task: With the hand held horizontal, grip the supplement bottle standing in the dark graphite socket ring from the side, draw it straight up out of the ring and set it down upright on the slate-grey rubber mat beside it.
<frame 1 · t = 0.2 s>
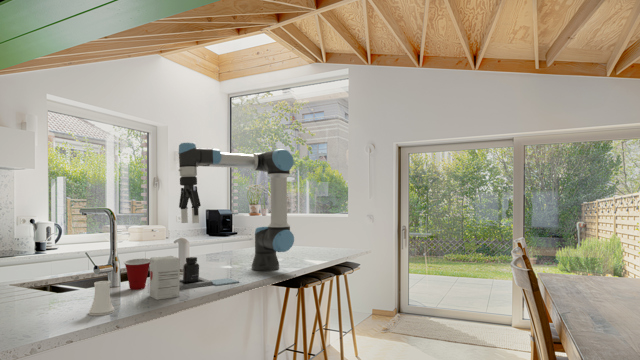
hand: (190, 223, 187), 27 cm above the countertop, tool pointing down, fingers open, 13 cm apart
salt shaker: (101, 313, 136), on the countertop
supplement bottle: (190, 285, 182), resting in socket ring
supplement box: (164, 297, 159), on the countertop
plastic cup: (137, 289, 174), on the countertop
drip mat: (222, 282, 187), on the countertop
socket ring: (190, 284, 182), on the countertop
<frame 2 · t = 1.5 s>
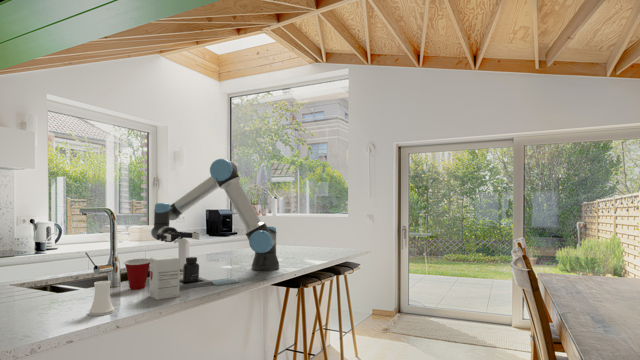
hand: (184, 237, 191), 20 cm above the countertop, tool horizontal, fingers open, 13 cm apart
nothing on the countertop moved.
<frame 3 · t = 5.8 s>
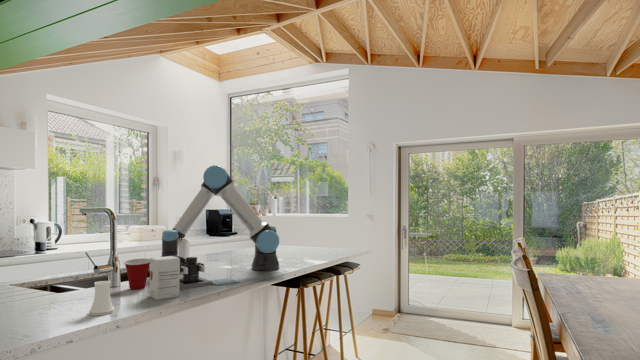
hand: (195, 270, 179), 7 cm above the countertop, tool horizontal, fingers closed on supplement bottle, 7 cm apart
supplement bottle: (190, 285, 182), resting in socket ring, touching gripper
everything else where it was.
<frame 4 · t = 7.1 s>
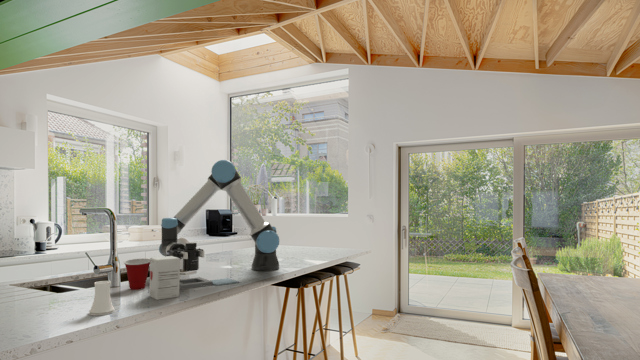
hand: (195, 255, 179), 13 cm above the countertop, tool horizontal, fingers closed on supplement bottle, 7 cm apart
supplement bottle: (190, 270, 183), point 6 cm above the countertop, touching gripper
everything else where it was.
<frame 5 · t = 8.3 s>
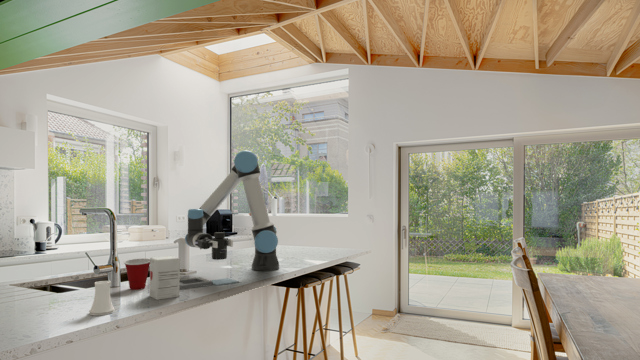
hand: (224, 244, 184), 18 cm above the countertop, tool horizontal, fingers closed on supplement bottle, 7 cm apart
supplement bottle: (219, 259, 187), point 11 cm above the countertop, touching gripper
everything else where it was.
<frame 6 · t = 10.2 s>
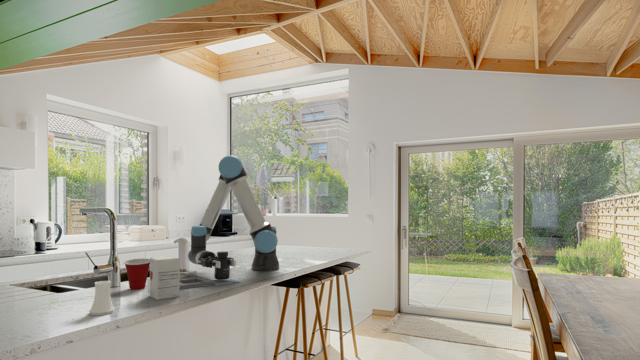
hand: (227, 264, 184), 9 cm above the countertop, tool horizontal, fingers closed on supplement bottle, 7 cm apart
supplement bottle: (222, 278, 187), point 2 cm above the countertop, touching gripper
everything else where it was.
when the fingers open (9 cm above the countertop, at t = 10.6 s): supplement bottle stays where it is, resting on drip mat.
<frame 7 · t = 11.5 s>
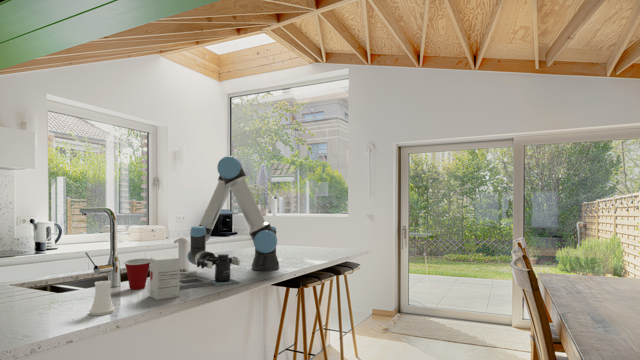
hand: (225, 264, 185), 9 cm above the countertop, tool horizontal, fingers open, 13 cm apart
supplement bottle: (222, 281, 187), resting on drip mat
everything else where it was.
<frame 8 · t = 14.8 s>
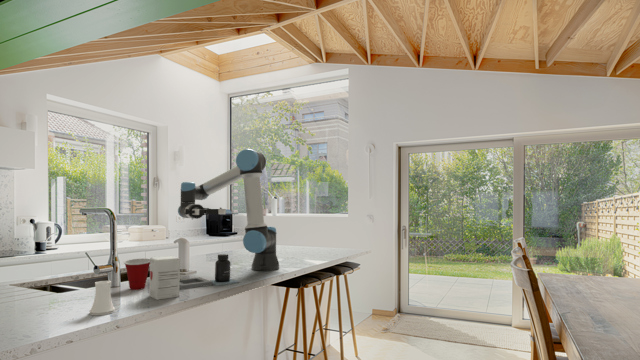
hand: (211, 211, 198), 32 cm above the countertop, tool horizontal, fingers open, 13 cm apart
nothing on the countertop moved.
at the end: supplement bottle inside the target area (0.1 cm from its centre), resting on drip mat; supplement bottle tilted 0°; the gripper is holding nothing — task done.
